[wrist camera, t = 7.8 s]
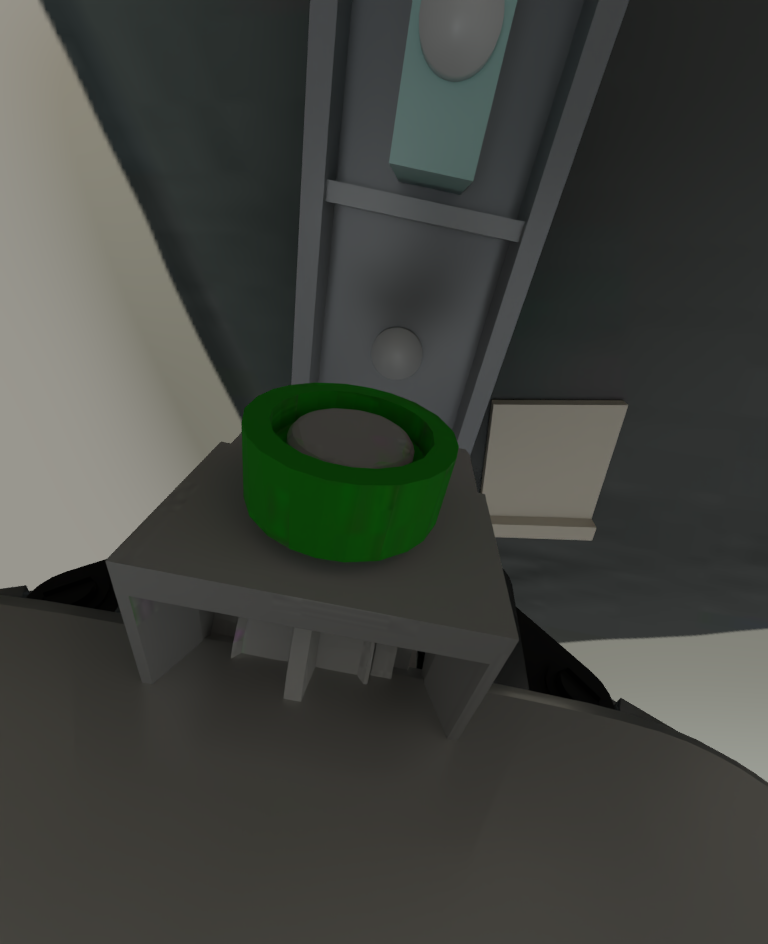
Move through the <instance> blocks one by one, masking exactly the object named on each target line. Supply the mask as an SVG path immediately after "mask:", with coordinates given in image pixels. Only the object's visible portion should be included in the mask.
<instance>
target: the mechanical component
mask: <svg viewBox="0 0 768 944" xmlns="http://www.w3.org/2000/svg"><path fill="white" fill-rule="evenodd" d="M105 562H106V565H107V568H108V572H109V575H110V578H111V582H112V585H113V588H114V592H115V595H116V598H117V602H118V605H119V608H120V611H121V615H122V618H123V621H124V625H125V628H126V631H127V635H128V638H129V641H130V645H131V648H132V651H133V654H134V658H135V661H136V664H137V668H138V671H139V674H140V678H141V681H142V682H143V683H148V684H154V683H155V682H156V681H157V680H158V679H160V678H161V677H162V676H163V675H164V674H165V673H166V672H168V671H169V670H170V669H171V668H172V667H173V666H174V665H176V664H177V663H178V662H179V661H180V660H181V659H182V658H184V657H185V656H186V655H187V654H188V653H189V652H191V651H192V650H193V649H194V648H195V647H196V646H197V645H199V644H200V643H201V642H202V641H203V640H204V638H206V637H208V636H211V633H215V634H221V635H226V636H232V637H234V641H233V646H232V653H231V658H233V657H235V656H237V655H238V654H240V653H244V654H249V655H254V656H259V657H264V658H269V659H275V660H281V661H287V662H288V666H287V674H286V682H285V691H284V698H285V699H289V700H293V701H300V702H301V700H302V697H303V695H304V693H305V690H306V688H307V686H308V683H309V681H310V679H311V676H312V674H313V671H314V669H315V667H319V668H324V669H329V670H334V671H339V672H344V673H349V674H355V675H357V676H358V677H359V679H360V680H361V681H362V683H363V684H367V683H368V679H369V674H370V675H372V676H377V677H383V678H389V679H391V676H392V672H393V667H397V668H402V669H408V667H412V668H416V660H417V651H422V652H425V657H424V662H423V667H422V672H421V676H422V678H423V679H424V684H425V687H426V689H427V692H428V694H429V697H430V699H431V701H432V704H433V706H434V709H435V711H436V714H437V716H438V718H439V721H440V723H441V726H442V728H443V731H444V733H445V735H446V738H447V739H451V740H456V741H458V739H459V737H460V736H461V734H462V733H463V731H464V729H465V728H466V726H467V724H468V723H469V721H470V719H471V718H472V716H473V715H474V713H475V711H476V710H477V708H478V706H479V705H480V703H481V701H482V700H483V698H484V697H485V695H486V693H487V692H488V690H489V688H490V687H491V685H492V684H493V682H494V680H495V679H496V677H497V675H498V674H499V672H500V670H501V669H502V667H503V666H504V664H505V662H506V661H507V659H508V657H509V656H510V654H511V653H512V651H513V649H514V648H515V646H516V644H517V643H518V641H519V637H518V633H517V628H516V624H515V620H514V616H513V611H512V607H511V603H510V599H509V594H508V590H507V586H506V582H505V577H504V573H503V569H502V565H501V560H500V556H499V552H498V548H497V543H496V539H495V535H494V531H493V526H492V522H491V518H490V514H489V509H488V505H487V501H486V497H485V494H482V493H478V491H477V486H476V482H475V477H474V473H473V468H472V464H471V459H470V455H469V453H468V452H467V451H466V449H461V448H459V445H458V442H457V440H456V437H455V434H454V432H453V430H452V429H451V428H450V427H449V426H448V425H447V424H446V423H445V422H444V421H443V420H442V419H441V418H440V417H439V416H438V415H436V414H434V413H432V412H431V411H429V410H427V409H426V408H424V407H422V406H420V405H419V404H417V403H415V402H413V401H410V400H408V399H405V398H403V397H400V396H397V395H395V394H392V393H388V392H385V391H381V390H377V389H373V388H368V387H362V386H356V385H350V384H340V383H316V382H314V383H304V384H295V385H288V386H284V387H280V388H276V389H272V390H270V391H268V392H266V393H264V394H261V395H259V396H258V397H256V398H255V399H254V400H253V401H252V402H251V403H250V404H249V405H248V406H246V407H245V409H244V414H243V419H242V432H241V434H240V435H239V436H238V437H237V438H236V439H235V440H234V441H233V442H232V443H231V444H230V443H225V442H220V443H219V444H218V445H217V446H216V447H215V448H214V449H213V450H212V451H211V453H210V454H209V455H208V456H207V457H206V458H205V459H204V460H203V461H202V462H201V463H200V464H199V465H198V466H197V467H196V468H195V469H194V470H193V471H192V472H191V473H190V474H189V475H188V476H187V477H186V478H185V479H184V480H183V481H182V482H181V483H180V484H179V485H178V487H176V488H175V490H174V491H173V492H172V493H171V494H170V495H169V496H168V497H167V498H166V499H165V500H164V501H163V502H162V503H161V504H160V505H159V506H158V507H157V508H156V509H155V510H154V511H153V512H152V513H151V514H150V515H149V516H148V518H146V520H145V521H144V522H142V524H141V525H140V526H139V527H138V528H137V529H136V530H135V531H134V532H133V533H132V534H131V535H130V536H129V537H128V538H127V539H126V540H125V541H124V542H123V543H122V544H121V545H120V546H119V547H118V548H117V549H116V550H115V551H114V552H113V553H112V554H111V556H109V558H108V559H107V560H106V561H105ZM370 669H371V672H370Z"/></svg>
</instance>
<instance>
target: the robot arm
mask: <svg viewBox="0 0 768 944" xmlns="http://www.w3.org/2000/svg"><path fill="white" fill-rule="evenodd" d="M106 560H107V559H106ZM106 560H102V561H99V562H96V563H93V564H89V565H86V566H83V567H80V568H77V569H73V570H70V571H67V572H64V573H62V574H59V575H57V576H55V577H52V578H50V579H49V580H47V581H45V582H44V583H42V584H40V585H39V586H38V587H36V588H35V589H34V590H33V591H28V588H27V586H26V585H25V586H18V587H11V588H3V589H0V944H768V782H766V781H765V780H763V779H762V778H761V777H759V776H758V775H757V774H755V773H754V772H752V771H750V770H749V769H747V768H746V767H744V766H743V765H741V764H740V763H738V762H737V761H735V760H733V759H731V758H729V757H727V756H726V755H724V754H722V753H720V752H718V751H716V750H715V749H713V748H711V747H709V746H707V745H705V744H704V743H702V742H700V741H698V740H696V739H694V738H691V737H689V736H687V735H685V734H682V733H680V732H678V731H676V730H675V729H673V728H671V727H669V726H667V725H666V724H664V723H662V722H661V721H659V720H657V719H656V718H654V717H653V716H651V715H649V714H647V713H646V712H644V711H642V710H641V709H639V708H637V707H636V706H634V705H632V704H630V703H629V702H627V701H625V700H624V699H622V698H620V699H619V700H618V701H617V702H615V701H614V700H612V699H611V697H610V694H609V693H608V691H607V690H606V688H605V687H604V685H603V684H602V682H601V681H600V680H599V679H598V678H597V677H596V676H595V675H594V674H593V673H592V672H591V671H590V670H589V669H588V668H586V667H585V666H584V665H583V664H582V663H581V662H579V661H578V660H577V659H576V658H575V657H574V656H572V655H571V654H570V653H569V652H568V651H567V650H566V649H564V648H563V647H562V646H561V645H560V644H559V643H557V642H556V641H555V640H554V639H553V638H552V637H550V636H549V635H548V634H547V633H546V632H545V631H543V630H542V629H541V628H540V627H539V626H538V625H537V624H535V623H534V622H533V621H532V620H531V619H530V618H528V617H527V616H526V615H525V614H524V613H523V612H521V611H520V610H519V609H518V608H517V607H516V605H515V599H514V593H513V587H512V583H511V580H510V577H509V576H508V574H507V573H506V572H505V570H504V569H503V568H502V569H503V573H504V577H505V582H506V586H507V590H508V594H509V599H510V603H511V607H512V611H513V616H514V620H515V624H516V628H517V633H518V637H519V641H518V643H517V644H516V646H515V648H514V649H513V651H512V653H511V654H510V656H509V657H508V659H507V661H506V662H505V664H504V666H503V667H502V669H501V670H500V672H499V674H498V675H497V677H496V679H495V680H494V682H493V684H492V685H491V687H490V688H489V690H488V692H487V693H486V695H485V697H484V698H483V700H482V701H481V703H480V705H479V706H478V708H477V710H476V711H475V713H474V715H473V716H472V718H471V719H470V721H469V723H468V724H467V726H466V728H465V729H464V731H463V733H462V734H461V736H460V737H459V739H458V741H456V740H451V739H447V738H446V735H445V733H444V731H443V728H442V726H441V723H440V721H439V718H438V716H437V714H436V711H435V709H434V706H433V704H432V701H431V699H430V697H429V694H428V692H427V689H426V687H425V684H424V679H423V678H422V676H421V672H422V667H423V662H424V657H425V652H422V651H417V660H416V668H412V667H408V669H402V668H397V667H393V672H392V676H391V679H389V678H383V677H377V676H372V675H370V674H369V679H368V683H367V684H363V683H362V681H361V680H360V679H359V677H358V676H357V675H355V674H349V673H344V672H339V671H334V670H329V669H324V668H319V667H315V669H314V671H313V674H312V676H311V679H310V681H309V683H308V686H307V688H306V690H305V693H304V695H303V697H302V700H301V702H300V701H293V700H289V699H285V698H284V691H285V682H286V674H287V666H288V662H287V661H281V660H275V659H269V658H264V657H259V656H254V655H249V654H244V653H240V654H238V655H237V656H235V657H233V658H231V653H232V646H233V641H234V637H232V636H226V635H221V634H215V633H211V636H208V637H206V638H204V640H203V641H202V642H201V643H200V644H199V645H197V646H196V647H195V648H194V649H193V650H192V651H191V652H189V653H188V654H187V655H186V656H185V657H184V658H182V659H181V660H180V661H179V662H178V663H177V664H176V665H174V666H173V667H172V668H171V669H170V670H169V671H168V672H166V673H165V674H164V675H163V676H162V677H161V678H160V679H158V680H157V681H156V682H155V683H154V684H148V683H143V682H142V681H141V678H140V674H139V671H138V668H137V664H136V661H135V658H134V654H133V651H132V648H131V645H130V641H129V638H128V635H127V631H126V628H125V625H124V621H123V618H122V615H121V611H120V608H119V605H118V602H117V598H116V595H115V592H114V588H113V585H112V582H111V578H110V575H109V572H108V568H107V565H106V562H105V561H106ZM370 672H371V669H370Z"/></svg>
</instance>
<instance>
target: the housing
mask: <svg viewBox="0 0 768 944" xmlns="http://www.w3.org/2000/svg"><path fill="white" fill-rule="evenodd" d="M628 2H629V0H310V13H309V34H308V54H307V75H306V95H305V116H304V136H303V157H302V177H301V198H300V218H299V239H298V259H297V280H296V300H295V321H294V341H293V361H292V382H291V385H295V384H304V383H314V382H316V383H340V384H350V385H356V386H362V387H368V388H373V389H377V390H381V391H385V392H388V393H392V394H395V395H397V396H400V397H403V398H405V399H408V400H410V401H413V402H415V403H417V404H419V405H420V406H422V407H424V408H426V409H427V410H429V411H431V412H432V413H434V414H436V415H438V416H439V417H440V418H441V419H442V420H443V421H444V422H445V423H446V424H447V425H448V426H449V427H450V428H451V429H452V430H453V432H454V434H455V437H456V440H457V442H458V445H459V448H461V449H466V451H467V452H468V453H469V455H470V454H471V451H472V448H473V446H474V443H475V440H476V437H477V434H478V431H479V428H480V426H481V423H482V420H483V417H484V414H485V411H486V408H487V405H488V403H489V400H490V397H491V394H492V391H493V388H494V385H495V383H496V380H497V377H498V374H499V371H500V368H501V365H502V363H503V360H504V357H505V354H506V351H507V348H508V345H509V343H510V340H511V337H512V334H513V331H514V328H515V325H516V323H517V320H518V317H519V314H520V311H521V308H522V305H523V303H524V300H525V297H526V294H527V291H528V288H529V285H530V283H531V280H532V277H533V274H534V271H535V268H536V265H537V263H538V260H539V257H540V254H541V251H542V248H543V245H544V242H545V240H546V237H547V234H548V231H549V228H550V225H551V222H552V220H553V217H554V214H555V211H556V208H557V205H558V202H559V200H560V197H561V194H562V191H563V188H564V185H565V182H566V180H567V177H568V174H569V171H570V168H571V165H572V162H573V160H574V157H575V154H576V151H577V148H578V145H579V142H580V140H581V137H582V134H583V131H584V128H585V125H586V122H587V120H588V117H589V114H590V111H591V108H592V105H593V102H594V100H595V97H596V94H597V91H598V88H599V85H600V82H601V79H602V77H603V74H604V71H605V68H606V65H607V62H608V59H609V57H610V54H611V51H612V48H613V45H614V42H615V39H616V37H617V34H618V31H619V28H620V25H621V22H622V19H623V17H624V14H625V11H626V8H627V5H628Z"/></svg>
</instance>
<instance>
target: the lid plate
mask: <svg viewBox="0 0 768 944" xmlns="http://www.w3.org/2000/svg"><path fill="white" fill-rule="evenodd" d="M627 407H628V405H627V404H626V403H625V402H624V401H623V400H492V401H491V410H490V418H489V426H488V434H487V442H486V450H485V458H484V466H483V474H482V482H481V490H480V493H482V494H485V497H486V501H487V505H488V509H489V514H490V518H491V522H492V526H493V531H494V535H495V537H509V538H537V539H565V540H592V539H593V536H594V534H595V531H596V526H595V524H594V523H593V521H592V519H591V518H592V515H593V512H594V509H595V506H596V503H597V500H598V497H599V494H600V490H601V487H602V484H603V481H604V478H605V475H606V472H607V469H608V466H609V463H610V460H611V457H612V454H613V450H614V447H615V444H616V441H617V438H618V435H619V432H620V429H621V426H622V423H623V420H624V417H625V414H626V410H627Z"/></svg>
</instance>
